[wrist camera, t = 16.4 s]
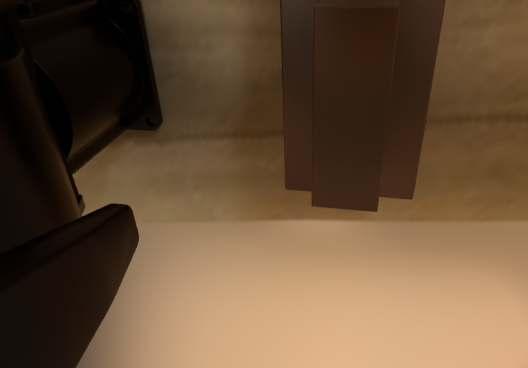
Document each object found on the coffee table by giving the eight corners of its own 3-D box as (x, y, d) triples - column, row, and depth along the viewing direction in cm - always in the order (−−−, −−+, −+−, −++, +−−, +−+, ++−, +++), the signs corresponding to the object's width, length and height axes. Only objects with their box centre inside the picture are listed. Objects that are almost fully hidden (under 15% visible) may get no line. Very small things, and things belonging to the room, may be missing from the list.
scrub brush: (409, 169, 20) (418, 245, 15) (294, 161, 21) (271, 229, 17) (443, -60, 15) (473, -52, 10) (291, -53, 16) (257, -42, 12)
